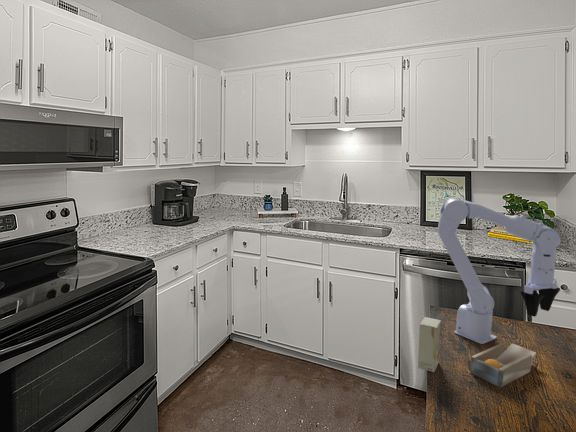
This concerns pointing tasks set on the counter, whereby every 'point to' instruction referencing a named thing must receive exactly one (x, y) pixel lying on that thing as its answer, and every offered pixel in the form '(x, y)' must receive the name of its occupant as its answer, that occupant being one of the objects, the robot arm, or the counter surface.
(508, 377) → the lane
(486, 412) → the counter surface
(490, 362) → the ball
